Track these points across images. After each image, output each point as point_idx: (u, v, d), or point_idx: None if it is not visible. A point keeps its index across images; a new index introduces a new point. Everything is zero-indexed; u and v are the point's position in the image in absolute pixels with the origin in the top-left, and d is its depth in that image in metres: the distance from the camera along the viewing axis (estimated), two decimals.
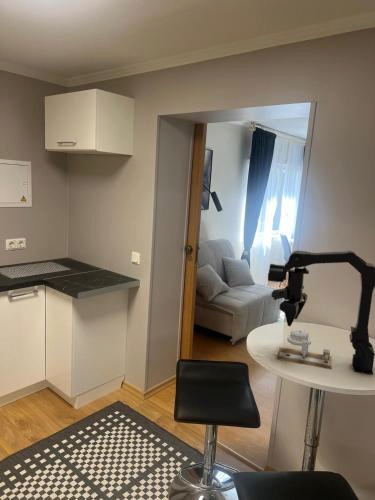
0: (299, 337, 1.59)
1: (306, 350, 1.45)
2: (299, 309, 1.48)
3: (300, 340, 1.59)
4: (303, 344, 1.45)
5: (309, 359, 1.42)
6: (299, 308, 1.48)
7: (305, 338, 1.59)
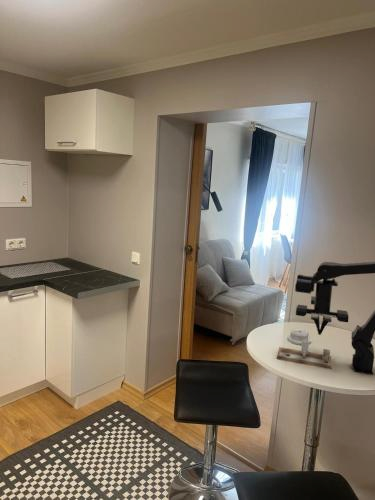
0: (299, 337, 1.59)
1: (306, 350, 1.45)
2: (321, 325, 1.42)
3: (300, 340, 1.59)
4: (303, 344, 1.45)
5: (309, 359, 1.42)
6: (322, 324, 1.42)
7: (305, 338, 1.59)
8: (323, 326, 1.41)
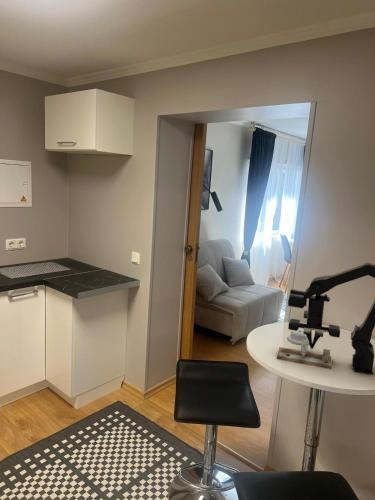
0: (299, 337, 1.59)
1: (305, 350, 1.45)
2: (313, 340, 1.43)
3: (300, 340, 1.59)
4: (302, 344, 1.45)
5: (309, 359, 1.42)
6: (314, 339, 1.44)
7: (305, 338, 1.60)
8: (315, 341, 1.43)
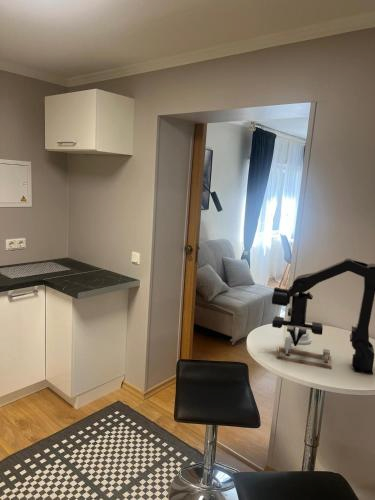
0: None
1: (289, 347, 1.47)
2: (297, 337, 1.46)
3: (300, 339, 1.60)
4: (286, 341, 1.47)
5: (309, 359, 1.42)
6: None
7: (305, 337, 1.60)
8: (298, 338, 1.45)
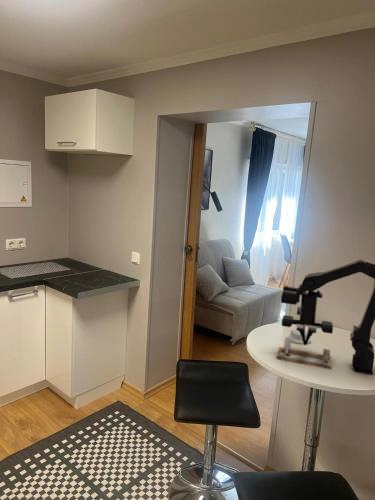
0: (299, 336, 1.60)
1: (289, 347, 1.47)
2: (307, 336, 1.44)
3: (300, 339, 1.60)
4: (286, 341, 1.47)
5: (309, 359, 1.42)
6: (307, 335, 1.44)
7: (305, 337, 1.60)
8: (308, 337, 1.43)
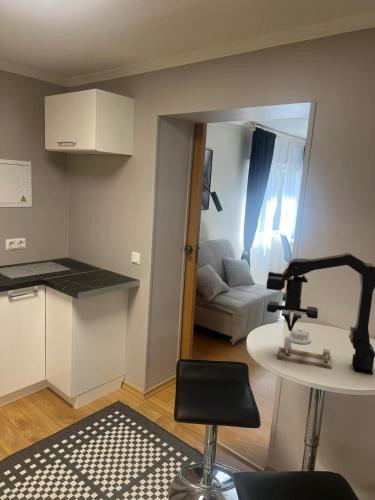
0: (299, 336, 1.60)
1: (289, 347, 1.47)
2: (292, 321, 1.43)
3: (300, 339, 1.60)
4: (286, 341, 1.47)
5: (309, 359, 1.42)
6: (292, 321, 1.43)
7: (305, 337, 1.60)
8: (293, 322, 1.42)
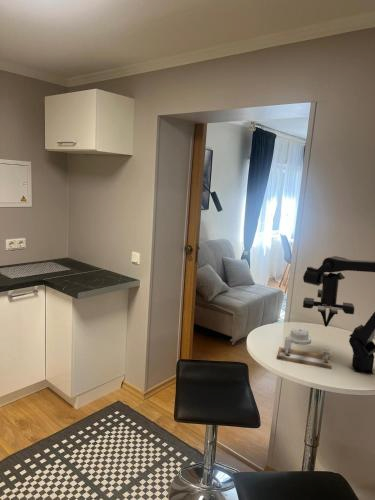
0: (299, 336, 1.60)
1: (289, 347, 1.47)
2: (328, 317, 1.46)
3: (300, 339, 1.60)
4: (286, 341, 1.47)
5: (309, 359, 1.42)
6: None
7: (305, 337, 1.60)
8: (329, 318, 1.45)
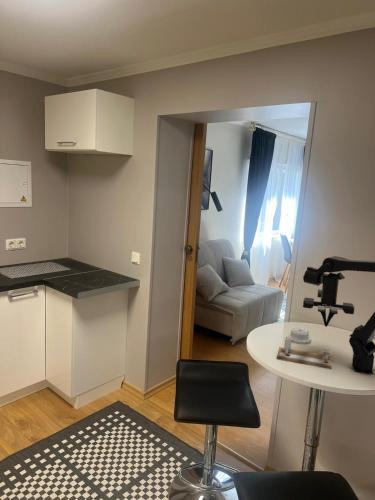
0: (299, 336, 1.60)
1: (289, 347, 1.47)
2: (328, 317, 1.46)
3: (300, 339, 1.60)
4: (286, 341, 1.47)
5: (309, 359, 1.42)
6: None
7: (305, 337, 1.61)
8: (329, 318, 1.45)
